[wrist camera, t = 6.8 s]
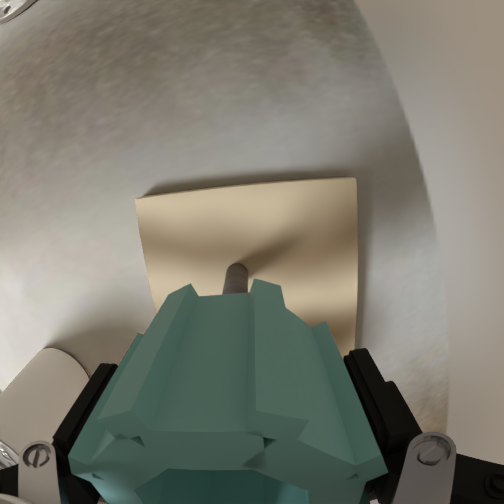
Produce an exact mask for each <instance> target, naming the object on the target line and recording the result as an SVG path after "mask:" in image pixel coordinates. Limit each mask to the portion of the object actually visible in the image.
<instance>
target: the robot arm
mask: <svg viewBox="0 0 504 504" xmlns="http://www.w3.org/2000/svg"><path fill="white" fill-rule="evenodd" d="M35 1H36V0H0V24H2V23H5V22H7V21H8V20H10V19H12V18H14V17H15V16H17V15H18V14H20V13H21V12H22V11H24V10H25V9H26V8H28V7H29V6H30V5H31V4H32V3H34V2H35ZM343 361H344V363H345V366H346V368H347V370H348V373H349V375H350V377H351V380H352V382H353V385H354V387H355V389H356V392H357V394H358V397H359V399H360V402H361V404H362V407H363V409H364V412H365V414H366V416H367V419H368V421H369V424H370V427H371V429H372V432H373V434H374V437H375V439H376V442H377V444H378V447H379V449H380V452H381V454H382V457H383V459H384V462H385V465H386V467H387V470H388V473H386V474H384V475H381V476H379V477H377V478H374V479H372V480H370V481H367V482H366V484H365V487H364V490H366V491H367V494H368V498H369V501H371V500H375V499H377V500H378V503H380V504H504V465H500V464H496V463H492V462H488V461H484V460H480V459H476V458H472V457H468V456H464V455H461V454H457V453H456V445H455V444H454V442H453V440H452V439H451V438H450V437H449V436H447V435H445V434H443V433H439V432H426V433H422V431H421V429H420V427H419V425H418V423H417V422H416V420H415V418H414V416H413V414H412V413H411V411H410V409H409V407H408V405H407V404H406V402H405V400H404V398H403V397H402V395H401V393H400V391H399V390H398V388H397V386H396V384H395V383H394V382H393V381H388V382H385V381H384V379H383V377H382V375H381V373H380V372H379V370H378V368H377V366H376V364H375V363H374V361H373V359H372V357H371V355H370V354H369V352H368V350H367V349H366V348H362V349H356V350H350V351H349V355H345V356H344V358H343ZM117 368H118V366H117V364H108V363H102V364H100V365H99V366H98V368H97V369H96V371H95V372H94V374H93V375H92V377H91V378H90V380H89V381H88V383H87V384H86V386H85V387H84V389H83V390H82V392H81V393H80V395H79V396H78V398H77V399H76V401H75V402H74V404H73V405H72V407H71V409H70V410H69V412H68V413H67V415H66V416H65V418H64V419H63V421H62V423H61V424H60V426H59V427H58V429H57V431H56V432H55V434H54V435H53V437H52V438H53V442H52V443H51V444H50V443H49V442H47V441H34V442H31V443H29V444H28V445H26V446H25V447H24V448H23V449H22V451H21V452H20V455H19V463H18V464H16V465H13V466H10V467H7V468H4V469H1V470H0V504H97V503H98V501H101V502H105V503H107V502H106V501H105V499H104V498H103V497H102V496H101V494H100V493H99V492H98V491H97V489H96V488H95V487H94V486H93V484H92V483H91V482H90V481H87V480H85V479H83V478H80V477H78V476H76V475H74V474H72V473H71V468H70V464H69V459H68V455H69V453H70V451H71V449H72V447H73V445H74V443H75V442H76V440H77V438H78V436H79V434H80V432H81V431H82V429H83V427H84V425H85V423H86V422H87V420H88V418H89V416H90V415H91V413H92V411H93V409H94V407H95V406H96V404H97V402H98V400H99V399H100V397H101V395H102V393H103V392H104V390H105V388H106V387H107V385H108V383H109V381H110V380H111V378H112V376H113V375H114V373H115V371H116V370H117Z"/></svg>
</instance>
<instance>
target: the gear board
mask: <svg viewBox="0 0 504 504" xmlns="http://www.w3.org/2000/svg"><path fill="white" fill-rule="evenodd" d="M135 205H136V211H137V218H138V224H139V230H140V236H141V242H142V248H143V253H144V259H145V264H146V269H147V274H148V279H149V284H150V289H151V293H152V298H153V302H154V307H155V311H156V314H157V313H158V311H159V309H160V308H161V306H162V304H163V303H164V301H165V299H166V298H167V296H168V294H170V293H172V292H174V291H176V290H178V289H180V288H182V287H184V286H186V285H188V284H190V283H191V284H192V286H193V288H194V289H195V291H196V293H197V294H198V296H209V295H223V294H235V293H248V292H250V289H251V286H252V283H253V280H254V278H256V279H259V280H263V281H266V282H270V283H273V284H277V285H280V286H281V289H282V293H283V298H284V303H285V307H286V308H287V309H288V310H290V311H291V312H292V313H294V314H295V315H296V316H298V317H299V318H300V319H302V320H303V321H304V322H305V323H307V324H308V325H309V326H311V327H313V326H315V325H318V324H320V323H322V322H324V321H326V323H327V325H328V327H329V329H330V331H331V333H332V335H333V338H334V340H335V342H336V344H337V347H338V349H339V351H340V354H341V356H342V358H344V356H345V355H349V351H350V350H354V345H355V331H356V313H357V288H358V206H357V182H356V178H353V177H334V178H316V179H301V180H287V181H274V182H262V183H251V184H240V185H230V186H221V187H212V188H203V189H194V190H186V191H178V192H171V193H163V194H156V195H149V196H142V197H139V198H137V199H135Z"/></svg>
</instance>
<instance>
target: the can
mask: <svg viewBox="0 0 504 504" xmlns="http://www.w3.org/2000/svg"><path fill="white" fill-rule="evenodd" d="M88 381H89V378H88V375H87V373H86V371H85V370H84V368H83V367H82V366H81V364H80V363H79V362H78V361H77V360H76V359H75V358H73V357H72V356H71V355H69V354H68V353H66V352H64V351H62V350H59V349H55V348H46V349H43V350H41V351H40V352H38V353H37V354H36V356H35V357H34V358H33V359H32V360H31V361H30V362H29V363H28V364H27V365H26V366H25V367H24V368H23V370H22V371H21V372H20V373H19V374H18V375H17V376H16V377H15V379H14V380H13V381H12V382H11V383H10V384H9V385H8V387H7V388H6V389H5V390H4V391H3V392H2V394H1V395H0V467H2V468H3V469H4V468H7V467H10V466H13V465H16V464H18V463H19V455H20V452H21V451H22V449H23V448H24V447H25V446H26V445H28V444H29V443H31V442H34V441H47V442H49V443H50V444H51V443H52V442H53V438H52V437H53V435H54V434H55V432H56V431H57V429H58V427H59V426H60V424H61V423H62V421H63V419H64V418H65V416H66V415H67V413H68V412H69V410H70V409H71V407H72V405H73V404H74V402H75V401H76V399H77V398H78V396H79V395H80V393H81V392H82V390H83V389H84V387H85V386H86V384H87V383H88Z"/></svg>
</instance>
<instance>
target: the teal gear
mask: <svg viewBox="0 0 504 504" xmlns="http://www.w3.org/2000/svg"><path fill="white" fill-rule="evenodd" d="M68 459H69V464H70V468H71V473H72V474H74V475H76V476H78V477H80V478H83V479H85V480H87V481H90V482H91V483H92V484H93V486H94V487H95V488H96V489H97V491H98V492H99V493H100V494H101V496H102V497H103V498H104V499H105V501H106V502H107V504H370V501H369V498H368V494H367V491H366V490H364V487H365V484H366V482H367V481H370V480H372V479H374V478H377V477H379V476H381V475H384V474H386V473H388V470H387V467H386V465H385V462H384V459H383V457H382V454H381V452H380V449H379V447H378V444H377V442H376V439H375V437H374V434H373V432H372V429H371V427H370V424H369V421H368V419H367V416H366V414H365V412H364V409H363V407H362V404H361V402H360V399H359V397H358V394H357V392H356V389H355V387H354V385H353V382H352V380H351V377H350V375H349V373H348V370H347V368H346V366H345V363H344V361H343V358H342V356H341V354H340V351H339V349H338V347H337V344H336V342H335V340H334V338H333V335H332V333H331V331H330V329H329V327H328V325H327V323H326V321H324V322H322V323H320V324H318V325H315V326H313V327H311V326H309V325H308V324H307V323H305V322H304V321H303V320H302V319H300V318H299V317H298V316H296V315H295V314H294V313H292V312H291V311H290V310H288V309H287V308H286V307H285V303H284V298H283V293H282V289H281V286H280V285H277V284H273V283H270V282H266V281H263V280H259V279H256V278H254V280H253V283H252V286H251V289H250V292H248V293H235V294H223V295H209V296H198V294H197V293H196V291H195V289H194V288H193V286H192V284H191V283H190V284H188V285H186V286H184V287H182V288H180V289H178V290H176V291H174V292H172V293H170V294H168V296H167V298H166V299H165V301H164V303H163V304H162V306H161V308H160V309H159V311H158V313H157V314H156V316H155V318H154V319H153V321H152V323H151V324H150V326H149V328H148V329H147V331H146V333H145V335H142V334H139V333H138V335H137V337H136V338H135V340H134V342H133V343H132V345H131V346H130V348H129V350H128V351H127V353H126V355H125V356H124V358H123V360H122V361H121V363H120V365H119V366H118V368H117V370H116V371H115V373H114V375H113V376H112V378H111V380H110V381H109V383H108V385H107V387H106V388H105V390H104V392H103V393H102V395H101V397H100V399H99V400H98V402H97V404H96V406H95V407H94V409H93V411H92V413H91V415H90V416H89V418H88V420H87V422H86V423H85V425H84V427H83V429H82V431H81V432H80V434H79V436H78V438H77V440H76V442H75V443H74V445H73V447H72V449H71V451H70V453H69V455H68Z"/></svg>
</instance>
